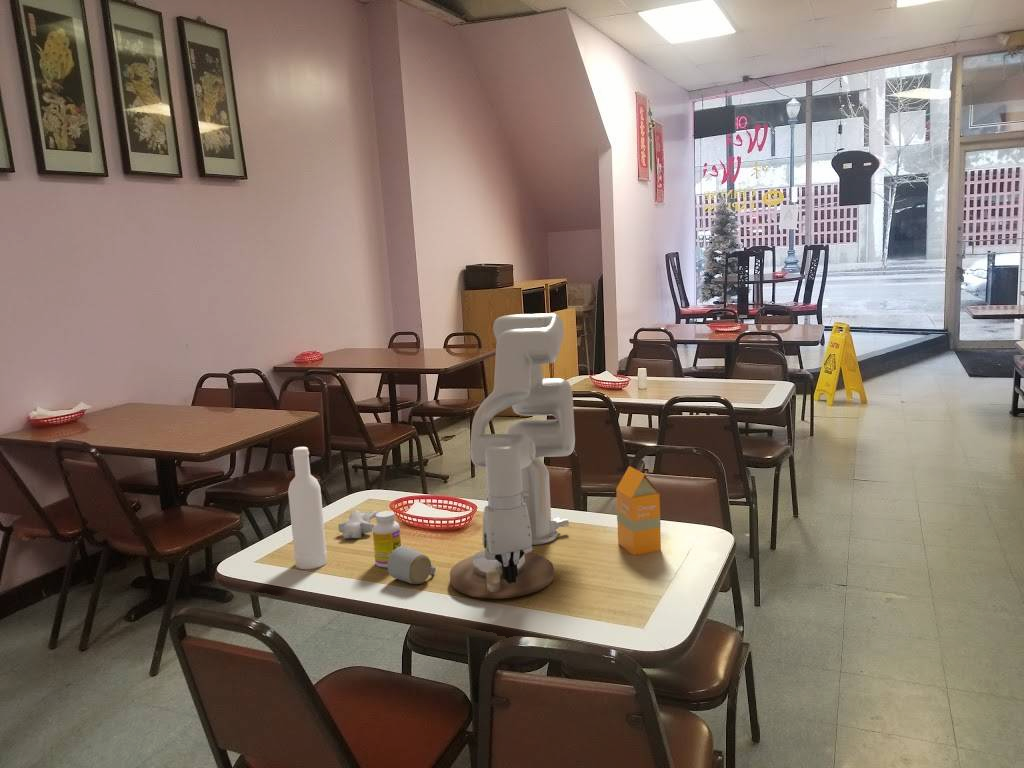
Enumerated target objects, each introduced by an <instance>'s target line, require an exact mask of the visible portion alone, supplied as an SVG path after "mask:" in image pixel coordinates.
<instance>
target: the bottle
mask: <svg viewBox="0 0 1024 768" xmlns="http://www.w3.org/2000/svg"><path fill="white" fill-rule="evenodd" d="M309 455H310V451H309V447H307V446H297V447H295V448H293V449H292V458H293V465H294V466H293V467H294V474H295V475H294V477H293V479H291V481H290V482H289V486H288V489H287V490H288V504H289V515H290V523H291V532H292V533H291V534H292V542H293V543H292V544H293V552H294V554H293V557H294V562H295V563H294V564H295V565H294V566H295V567H296V568H297V569H300V570H314V569H318V568H320V567H323V566H324V565H326V564H327V562H328V551H327V550H328V549H327V544H326V534H325V524H324V523H325V522H324V521H325V520H324V513H323V512H324V511H323V502H322V500H323V499H322V492H321V491H322V490H321V485H320V483H319V481H318V479H317V478H316V477H314V476H313V475H312V474H311V465H310V457H309Z"/></svg>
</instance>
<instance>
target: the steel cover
mask: <svg viewBox="0 0 1024 768" xmlns="http://www.w3.org/2000/svg"><path fill="white" fill-rule="evenodd" d="M485 550H486V549H483V550H480V551H478V552H477V553H475V554H474V555H473V570H474V573H475V575H477V576H478V577H481V578H484V579H487V575H486V571H488V570H490V569H498V570H500V578H501V579H503V576H502V564H501V563H500V562H498V561H497V560H487V559H486V558H485V557H484V555H485ZM507 557H508V561H509V557H510V553H507ZM524 570H525V555H523V556H522V557H521V559H520V560H519V563H518V564H517V573H518V575H520V574H521V573H523V572H524Z"/></svg>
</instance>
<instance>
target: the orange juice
mask: <svg viewBox="0 0 1024 768" xmlns="http://www.w3.org/2000/svg"><path fill="white" fill-rule="evenodd" d="M615 491H616V521H617V544H618V545H619V546H621V547H622V548H624V549H625V550H626V551H627V552H629V553H630V554H632V555H633V556H635V555H641V554H647V553H652V552H658V551H661V550H662V549H661V548H662V547H661V546H662V541H661V526H662V525H661V503H660V502H661V501H660V500H661V499H660V497H661V496H660V493H659V492H658V490H657V489H656V488H655V486H654V485H653V483H652V482H651V481H650V480H649V478H648V477H647V475H646V473H643V472H641V471H640V470H638V469H636V468H634V467H632V466H630V465H629V466H628V467H627V469H626V470H625V473H624V474H623V476H622V478H621V479H620V481H619V482H618V485H617V487H616V488H615Z"/></svg>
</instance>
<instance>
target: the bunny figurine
mask: <svg viewBox="0 0 1024 768" xmlns="http://www.w3.org/2000/svg"><path fill="white" fill-rule="evenodd" d="M377 513H379V512H378V510H377V509H376V510H372V511H370V512H361V510H358V509H357V510H353V512H351V513H350V514H349V517H348V518H349V519H348V520H345V521H342V522H341V523H338V532H339V533H342V535H343V539H361V538H362V535H364V534H367V533H373V526H372V525H373V524H372V523H371V519H374V518H376V514H377Z"/></svg>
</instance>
